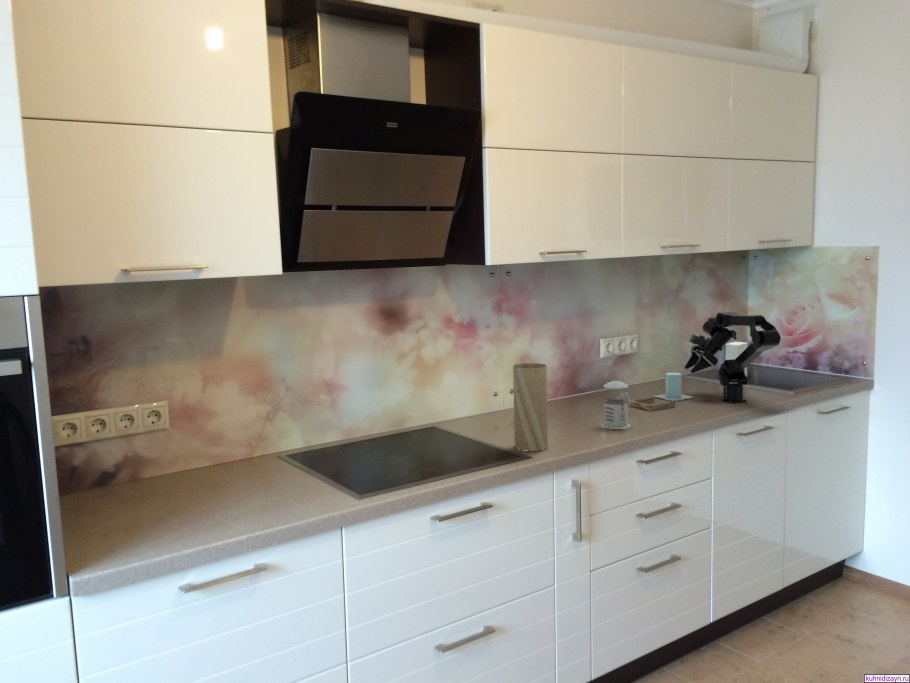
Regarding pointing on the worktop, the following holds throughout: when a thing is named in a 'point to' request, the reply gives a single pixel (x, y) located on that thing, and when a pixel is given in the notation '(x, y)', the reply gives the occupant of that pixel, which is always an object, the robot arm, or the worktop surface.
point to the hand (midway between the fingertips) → (688, 370)
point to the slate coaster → (673, 398)
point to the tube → (530, 406)
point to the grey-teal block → (673, 385)
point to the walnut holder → (640, 404)
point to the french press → (616, 406)
